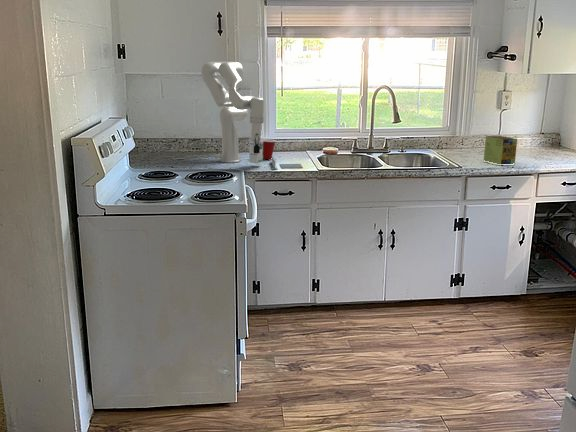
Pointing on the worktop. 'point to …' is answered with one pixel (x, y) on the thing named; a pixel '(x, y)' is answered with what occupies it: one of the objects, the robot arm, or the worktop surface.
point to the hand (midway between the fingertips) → (256, 151)
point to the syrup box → (255, 156)
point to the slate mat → (291, 166)
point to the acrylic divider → (273, 163)
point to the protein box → (500, 149)
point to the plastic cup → (268, 148)
